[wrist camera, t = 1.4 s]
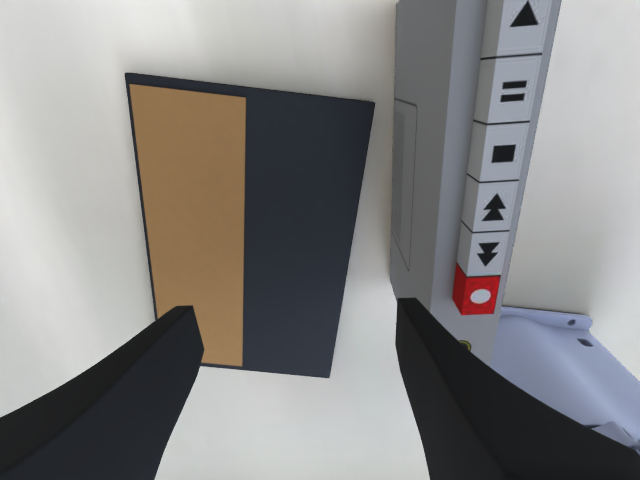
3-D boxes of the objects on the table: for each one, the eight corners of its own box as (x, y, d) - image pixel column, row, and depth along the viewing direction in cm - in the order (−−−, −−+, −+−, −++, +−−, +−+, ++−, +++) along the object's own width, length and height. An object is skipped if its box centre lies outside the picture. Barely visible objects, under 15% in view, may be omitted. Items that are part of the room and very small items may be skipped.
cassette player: (430, 277, 23) (496, 406, 14) (389, 279, 23) (429, 408, 14) (453, -2, 16) (607, -98, 7) (396, 3, 16) (479, -85, 7)
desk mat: (374, 101, 18) (375, 102, 18) (329, 372, 27) (329, 379, 26) (130, 72, 18) (123, 72, 17) (163, 356, 27) (159, 363, 26)
